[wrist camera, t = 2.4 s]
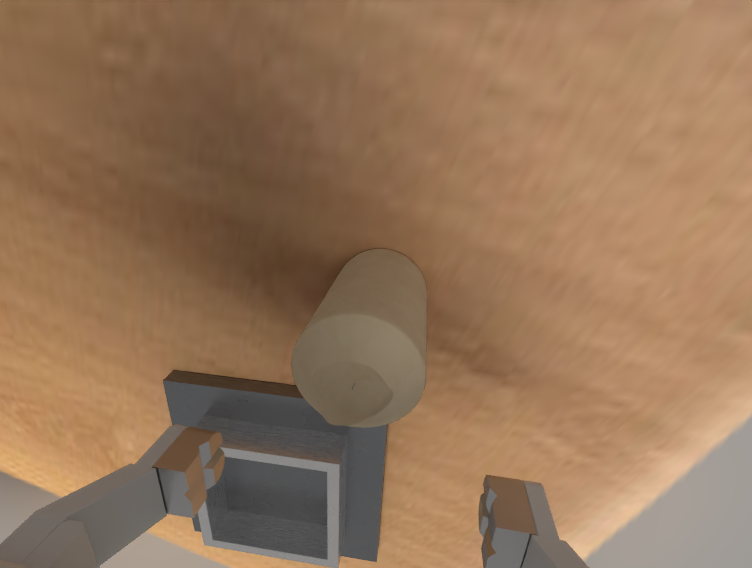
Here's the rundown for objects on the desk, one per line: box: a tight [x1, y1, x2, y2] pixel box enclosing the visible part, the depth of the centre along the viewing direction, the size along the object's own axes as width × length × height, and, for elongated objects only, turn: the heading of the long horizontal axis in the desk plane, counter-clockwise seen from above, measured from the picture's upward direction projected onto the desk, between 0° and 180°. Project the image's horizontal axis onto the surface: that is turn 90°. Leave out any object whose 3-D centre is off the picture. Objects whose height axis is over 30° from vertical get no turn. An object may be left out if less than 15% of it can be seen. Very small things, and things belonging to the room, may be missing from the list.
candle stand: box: [163, 370, 388, 568], centre depth 28 cm, size 16×16×4 cm
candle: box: [291, 249, 427, 428], centre depth 18 cm, size 6×6×10 cm
